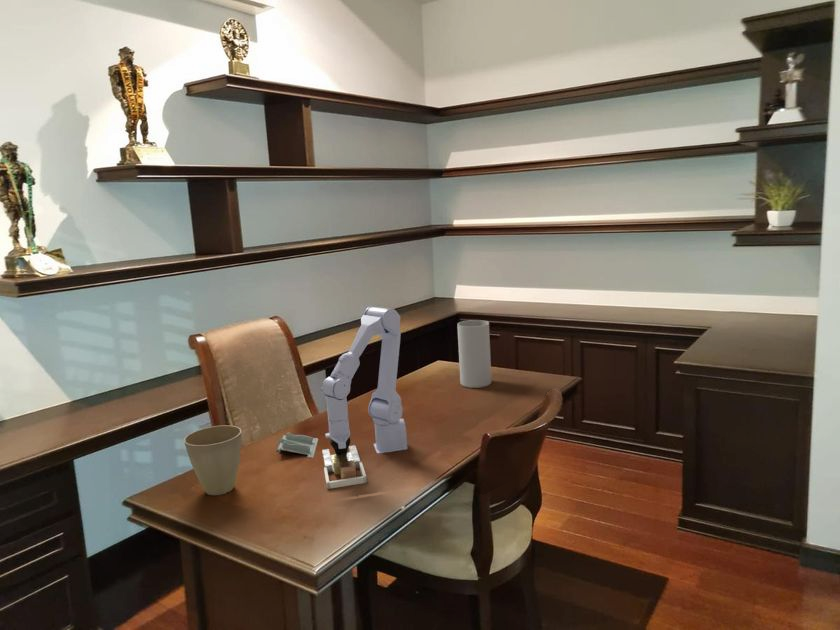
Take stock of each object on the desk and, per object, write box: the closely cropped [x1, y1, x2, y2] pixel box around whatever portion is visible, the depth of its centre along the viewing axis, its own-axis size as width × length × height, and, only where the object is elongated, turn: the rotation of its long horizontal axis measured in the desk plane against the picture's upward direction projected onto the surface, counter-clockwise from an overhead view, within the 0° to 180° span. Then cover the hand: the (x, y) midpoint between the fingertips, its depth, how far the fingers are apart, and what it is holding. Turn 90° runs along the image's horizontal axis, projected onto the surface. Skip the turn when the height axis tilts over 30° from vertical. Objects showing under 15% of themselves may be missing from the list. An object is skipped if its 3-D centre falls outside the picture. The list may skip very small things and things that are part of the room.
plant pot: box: [183, 424, 242, 496], centre depth 170 cm, size 15×15×16 cm
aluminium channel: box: [321, 444, 361, 473], centre depth 183 cm, size 10×12×3 cm
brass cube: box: [332, 454, 348, 476], centre depth 176 cm, size 4×4×4 cm
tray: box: [323, 461, 368, 490], centre depth 172 cm, size 11×10×2 cm
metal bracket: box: [275, 432, 319, 459], centre depth 195 cm, size 14×6×15 cm
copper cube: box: [339, 460, 357, 480], centre depth 172 cm, size 4×4×4 cm
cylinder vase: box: [456, 319, 492, 389], centre depth 249 cm, size 12×12×25 cm
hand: (342, 462), depth 179 cm, fingers closed, pressing on brass cube
